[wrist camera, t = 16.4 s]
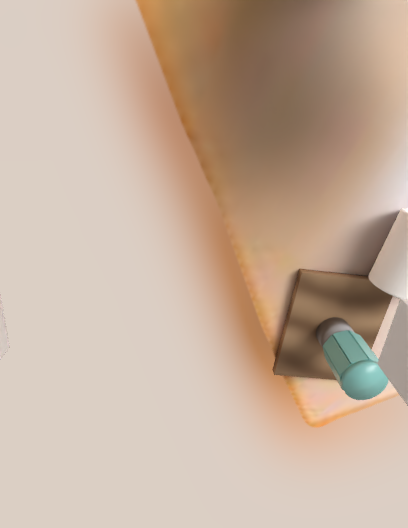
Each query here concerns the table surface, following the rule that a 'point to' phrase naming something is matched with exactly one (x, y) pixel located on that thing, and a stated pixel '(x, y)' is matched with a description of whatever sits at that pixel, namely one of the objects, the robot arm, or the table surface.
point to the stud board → (327, 319)
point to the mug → (393, 260)
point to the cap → (354, 365)
